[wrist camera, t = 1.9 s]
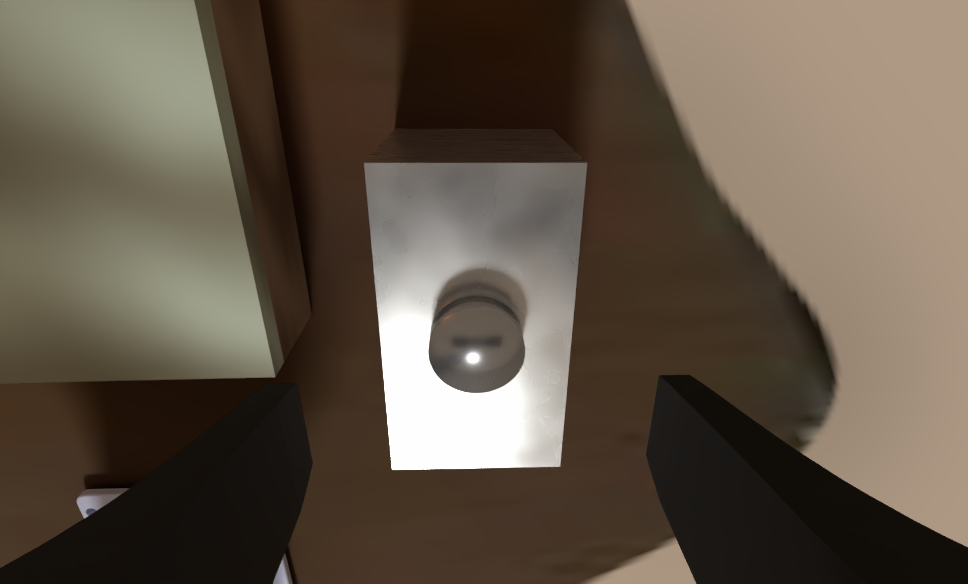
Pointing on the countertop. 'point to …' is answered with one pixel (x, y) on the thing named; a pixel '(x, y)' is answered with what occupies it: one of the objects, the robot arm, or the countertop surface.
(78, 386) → the countertop surface
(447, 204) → the housing
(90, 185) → the stand
